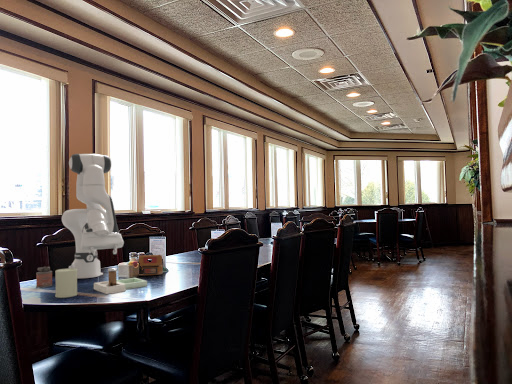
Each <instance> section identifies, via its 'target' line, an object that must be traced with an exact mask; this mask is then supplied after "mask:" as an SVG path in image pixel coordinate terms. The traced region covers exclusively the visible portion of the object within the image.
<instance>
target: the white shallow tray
mask: <svg viewBox="0 0 512 384" xmlns="http://www.w3.org/2000/svg"><path fill="white" fill-rule="evenodd" d="M93 290H95V291H97V292H99V293H100V292H101V293H103V294H106V295H109V294H114V293H115V294H116V293H120V292H125V291H126V289H125V284H122V283H118V282H117V285H116V286H109V284H108V280H106V281H99V282H93Z"/></svg>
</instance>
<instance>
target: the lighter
mask: <svg viewBox="0 0 512 384" xmlns="http://www.w3.org/2000/svg"><path fill="white" fill-rule="evenodd" d="M37 271H38V272H36V273H35V275H36V278H35V279H36V283H35V288H36V289H42V288H48V287H53V270H51V267H50V266H43V267H37Z"/></svg>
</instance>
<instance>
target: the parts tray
mask: <svg viewBox="0 0 512 384" xmlns="http://www.w3.org/2000/svg"><path fill="white" fill-rule="evenodd" d="M117 282H118V283H122V284H125V290H130V289H136V288H143V287H144V288H145V287H147V286H148V280H145V279H141V278H137V277H131V278H122V279H117Z"/></svg>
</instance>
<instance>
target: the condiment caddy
mask: <svg viewBox="0 0 512 384" xmlns="http://www.w3.org/2000/svg"><path fill="white" fill-rule="evenodd" d="M148 259H152V261H151V262H149V261H147V260H148ZM138 261H139V263H140V266H141V267H142V270H143V269H144V273H143V274H139V273H138V276H155V275H158V276H159V275H160V276H161V275H163V274H164V273H163V272H164V269H163V268H164V267H163V265H164V264H163V256H162V255H161V254H148V255H147V254H146V255H143V254H141V255H139V256H138V259H137V262H138Z"/></svg>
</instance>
